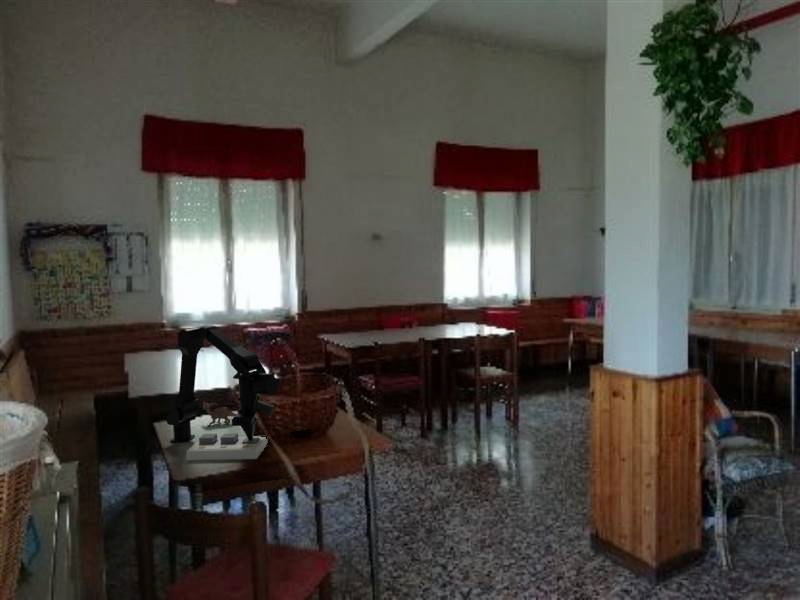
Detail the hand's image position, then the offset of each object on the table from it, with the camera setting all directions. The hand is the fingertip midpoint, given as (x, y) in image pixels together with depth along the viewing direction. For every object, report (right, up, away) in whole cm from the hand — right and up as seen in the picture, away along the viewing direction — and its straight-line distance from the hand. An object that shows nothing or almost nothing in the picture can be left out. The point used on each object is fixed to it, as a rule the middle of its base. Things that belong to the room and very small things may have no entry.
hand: (250, 439), depth 198 cm
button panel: (-7, -4, -1) cm, 8 cm away
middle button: (-7, -1, 0) cm, 7 cm away
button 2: (0, -2, 0) cm, 3 cm away
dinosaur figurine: (-20, -2, +33) cm, 39 cm away
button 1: (-14, -1, +1) cm, 14 cm away
